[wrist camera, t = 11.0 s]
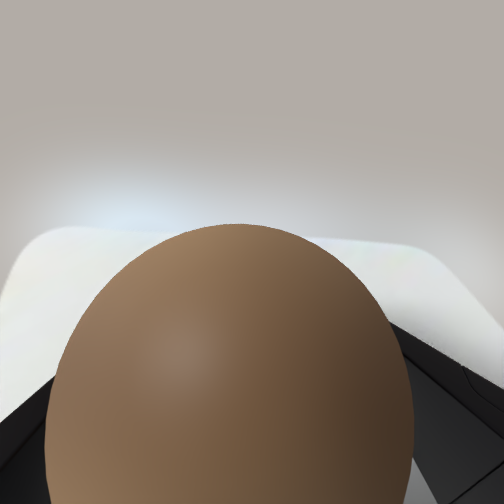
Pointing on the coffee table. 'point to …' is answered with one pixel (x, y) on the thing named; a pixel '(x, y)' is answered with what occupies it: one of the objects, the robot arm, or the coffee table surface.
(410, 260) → the coffee table surface
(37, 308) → the coffee table surface
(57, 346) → the coffee table surface
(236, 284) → the walnut canister
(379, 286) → the coffee table surface
